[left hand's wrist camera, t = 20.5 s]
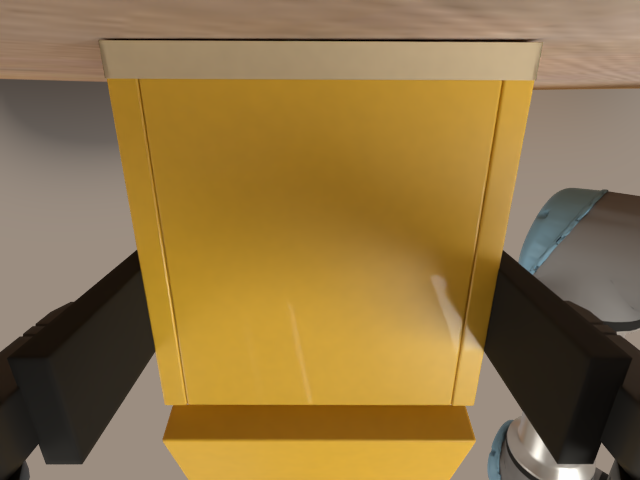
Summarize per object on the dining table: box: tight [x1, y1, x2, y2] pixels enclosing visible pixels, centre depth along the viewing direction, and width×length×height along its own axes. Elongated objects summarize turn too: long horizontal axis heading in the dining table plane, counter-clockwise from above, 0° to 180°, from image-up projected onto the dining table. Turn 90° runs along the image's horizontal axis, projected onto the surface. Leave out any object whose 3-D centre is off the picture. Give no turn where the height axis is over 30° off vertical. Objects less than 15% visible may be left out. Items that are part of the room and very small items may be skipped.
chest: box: [98, 40, 543, 406], centre depth 18 cm, size 17×10×10 cm, turn 0°
